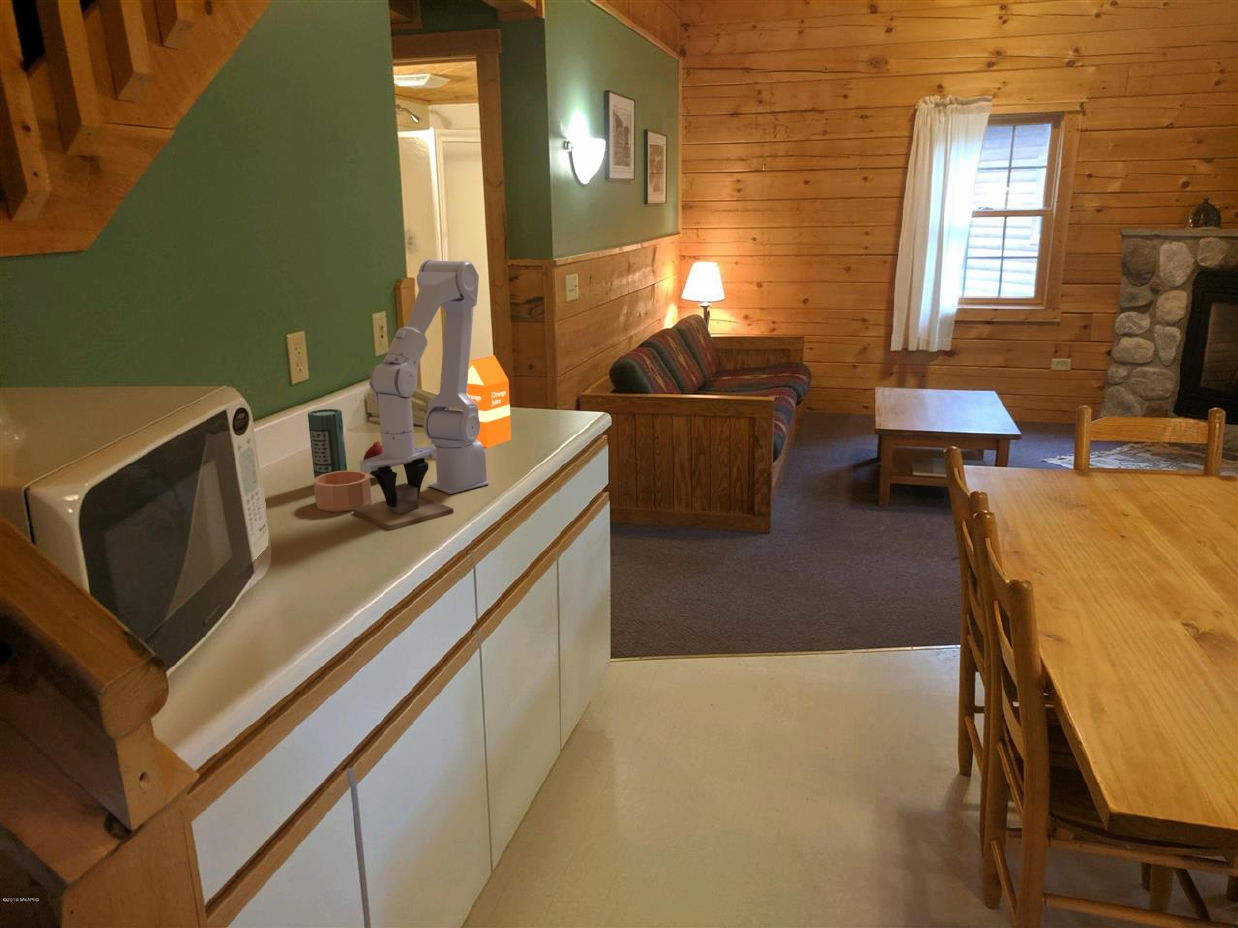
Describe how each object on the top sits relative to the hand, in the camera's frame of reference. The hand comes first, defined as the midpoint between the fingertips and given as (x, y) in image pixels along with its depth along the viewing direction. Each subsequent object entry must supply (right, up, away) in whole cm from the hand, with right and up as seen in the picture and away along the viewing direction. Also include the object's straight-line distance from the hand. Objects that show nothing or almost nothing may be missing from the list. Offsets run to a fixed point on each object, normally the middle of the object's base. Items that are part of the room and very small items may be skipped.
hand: (402, 503), depth 168 cm
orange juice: (+8, +12, +51) cm, 53 cm away
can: (-19, +3, +18) cm, 26 cm away
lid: (0, -2, +1) cm, 2 cm away
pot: (-13, 0, +6) cm, 14 cm away
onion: (-10, +4, +22) cm, 24 cm away
